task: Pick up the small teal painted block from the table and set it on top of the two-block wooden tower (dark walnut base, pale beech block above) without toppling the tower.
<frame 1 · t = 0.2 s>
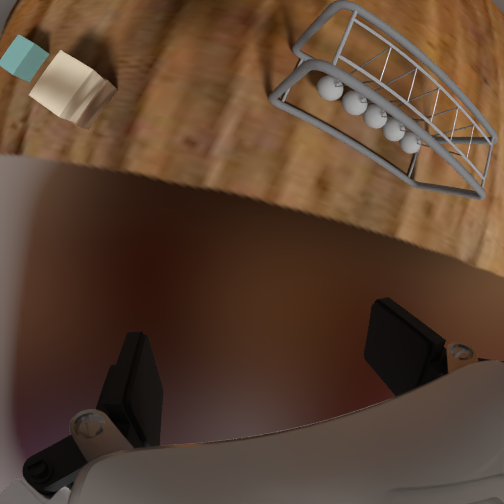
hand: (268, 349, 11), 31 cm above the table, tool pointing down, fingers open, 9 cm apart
tower base: (87, 99, 32), on the table, touching tower mid
teal block: (31, 62, 27), on the table
newton's cradle: (360, 119, 40), on the table
tower mid: (74, 91, 27), point 5 cm above the table, touching tower base
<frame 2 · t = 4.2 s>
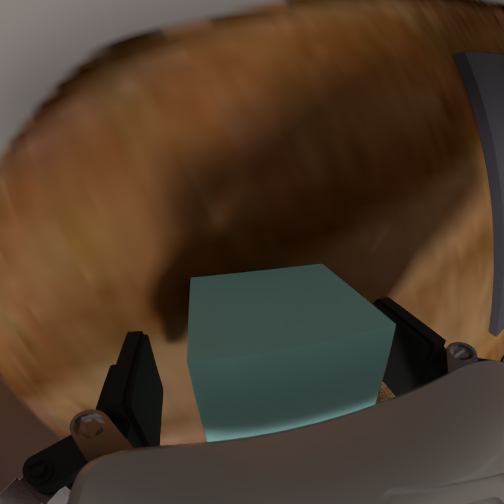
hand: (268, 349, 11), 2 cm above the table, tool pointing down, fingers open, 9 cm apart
teal block: (260, 327, 13), on the table
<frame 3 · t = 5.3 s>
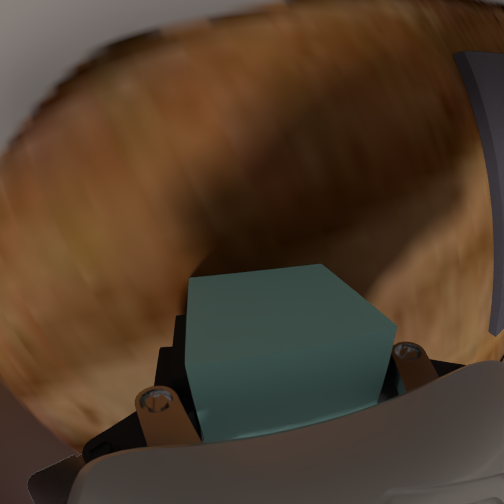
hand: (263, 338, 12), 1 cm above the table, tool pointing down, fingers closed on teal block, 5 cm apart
teal block: (260, 329, 12), on the table, touching gripper
when the fingers open (12 cm above the table, at t = 9.9 s): teal block drops 1 cm, resting on tower mid.
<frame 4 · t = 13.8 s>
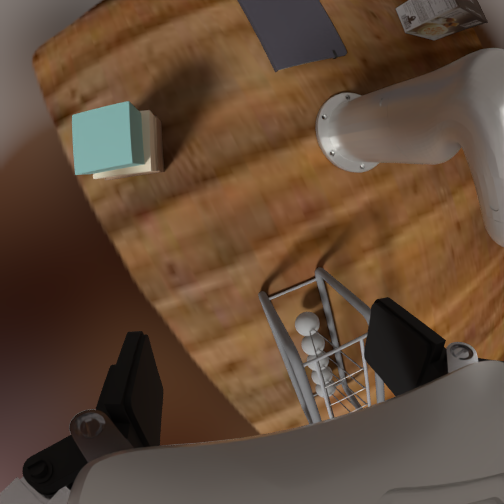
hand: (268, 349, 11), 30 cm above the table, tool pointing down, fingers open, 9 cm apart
notebook: (283, 12, 33), on the table
coffee box: (414, 24, 35), on the table
tower base: (137, 150, 35), on the table, touching tower mid
teal block: (117, 143, 25), point 10 cm above the table, touching tower mid
newton's cradle: (309, 346, 49), on the table
tower mid: (130, 147, 30), point 5 cm above the table, touching teal block, tower base
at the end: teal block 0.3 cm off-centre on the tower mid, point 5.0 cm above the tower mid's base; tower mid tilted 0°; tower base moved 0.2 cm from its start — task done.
